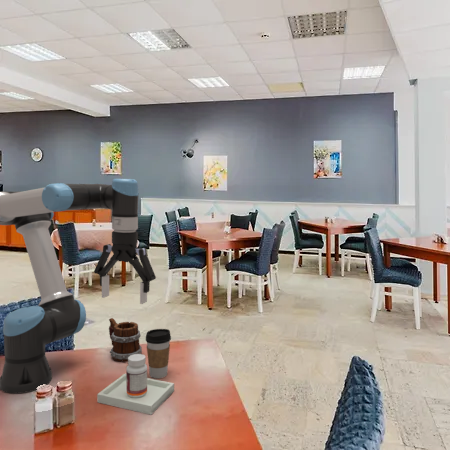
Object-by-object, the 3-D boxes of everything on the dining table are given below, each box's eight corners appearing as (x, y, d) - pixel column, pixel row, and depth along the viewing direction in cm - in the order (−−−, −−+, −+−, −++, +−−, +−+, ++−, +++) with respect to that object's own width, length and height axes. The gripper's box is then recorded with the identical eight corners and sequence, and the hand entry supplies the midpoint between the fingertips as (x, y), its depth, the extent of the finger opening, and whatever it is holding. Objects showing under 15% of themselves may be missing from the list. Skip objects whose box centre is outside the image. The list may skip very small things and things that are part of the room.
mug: (126, 365, 141) (120, 323, 141) (100, 362, 150) (95, 322, 150) (150, 354, 151) (145, 315, 151) (125, 351, 159) (120, 314, 159)
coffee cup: (166, 381, 131) (165, 337, 129) (141, 378, 133) (141, 334, 131) (174, 370, 139) (174, 328, 138) (151, 367, 141) (151, 326, 139)
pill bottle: (128, 388, 124) (127, 353, 123) (148, 387, 125) (148, 352, 124) (125, 398, 118) (124, 361, 117) (146, 398, 119) (146, 361, 118)
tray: (97, 402, 118) (97, 394, 118) (124, 380, 131) (124, 373, 131) (151, 414, 112) (151, 406, 112) (174, 390, 125) (174, 383, 125)
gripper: (82, 228, 121) (82, 297, 123) (155, 235, 112) (153, 309, 115) (98, 226, 128) (98, 291, 130) (167, 232, 119) (166, 302, 122)
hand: (124, 299), depth 122 cm, fingers open, 13 cm apart
